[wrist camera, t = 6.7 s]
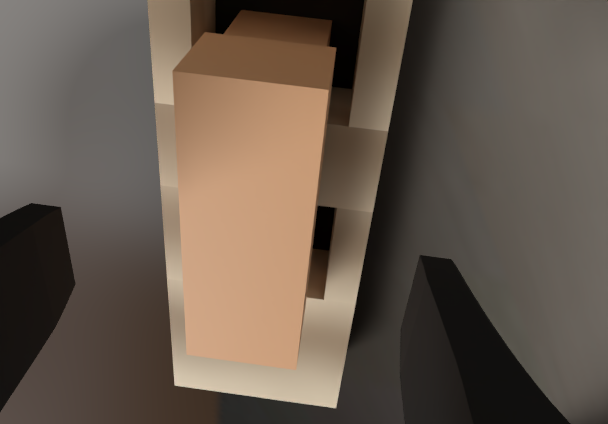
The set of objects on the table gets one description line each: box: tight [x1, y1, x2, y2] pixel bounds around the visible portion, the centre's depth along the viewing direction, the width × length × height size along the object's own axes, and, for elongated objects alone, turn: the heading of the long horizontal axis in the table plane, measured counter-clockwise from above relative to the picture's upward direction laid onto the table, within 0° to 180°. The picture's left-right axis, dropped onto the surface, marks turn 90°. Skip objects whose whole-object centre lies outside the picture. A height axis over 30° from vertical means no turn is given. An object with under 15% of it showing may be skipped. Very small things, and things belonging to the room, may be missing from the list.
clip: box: [172, 10, 336, 370], centre depth 15 cm, size 8×3×6 cm, turn 175°
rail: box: [148, 0, 413, 408], centre depth 16 cm, size 20×6×2 cm, turn 175°
